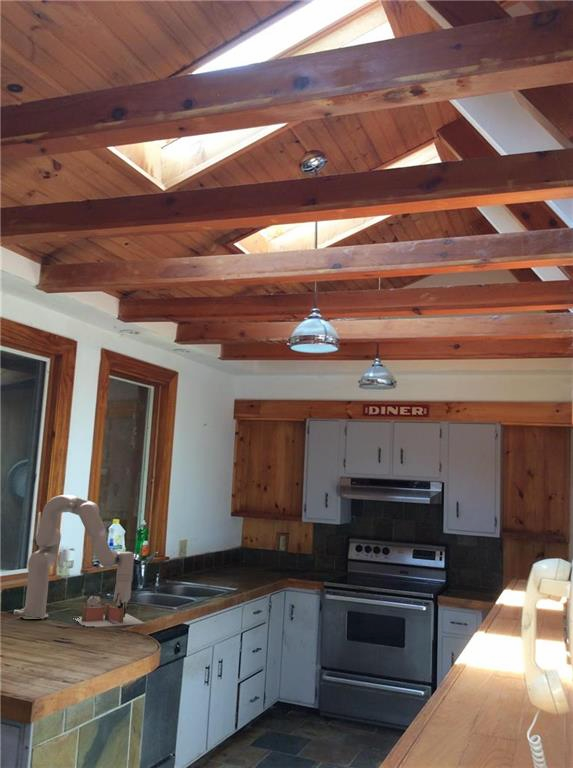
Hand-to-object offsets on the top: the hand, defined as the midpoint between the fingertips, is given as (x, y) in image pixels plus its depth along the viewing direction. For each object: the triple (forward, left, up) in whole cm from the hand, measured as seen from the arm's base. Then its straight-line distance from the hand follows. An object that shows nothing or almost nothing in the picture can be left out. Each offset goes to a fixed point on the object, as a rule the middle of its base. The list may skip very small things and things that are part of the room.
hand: (121, 617), depth 320 cm
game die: (-4, +29, -2) cm, 29 cm away
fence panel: (-3, -1, -1) cm, 4 cm away
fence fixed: (-11, +5, -2) cm, 12 cm away
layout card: (-5, +3, -2) cm, 7 cm away
